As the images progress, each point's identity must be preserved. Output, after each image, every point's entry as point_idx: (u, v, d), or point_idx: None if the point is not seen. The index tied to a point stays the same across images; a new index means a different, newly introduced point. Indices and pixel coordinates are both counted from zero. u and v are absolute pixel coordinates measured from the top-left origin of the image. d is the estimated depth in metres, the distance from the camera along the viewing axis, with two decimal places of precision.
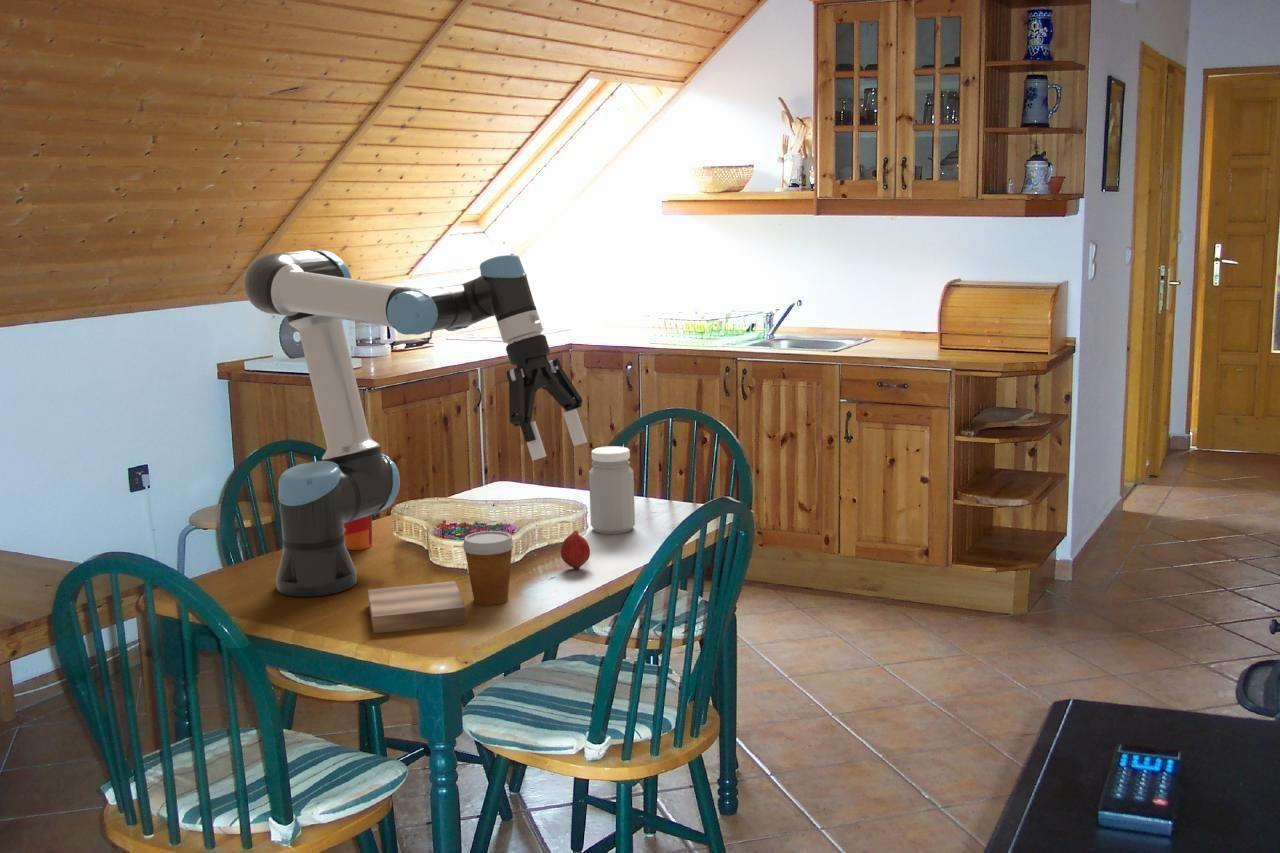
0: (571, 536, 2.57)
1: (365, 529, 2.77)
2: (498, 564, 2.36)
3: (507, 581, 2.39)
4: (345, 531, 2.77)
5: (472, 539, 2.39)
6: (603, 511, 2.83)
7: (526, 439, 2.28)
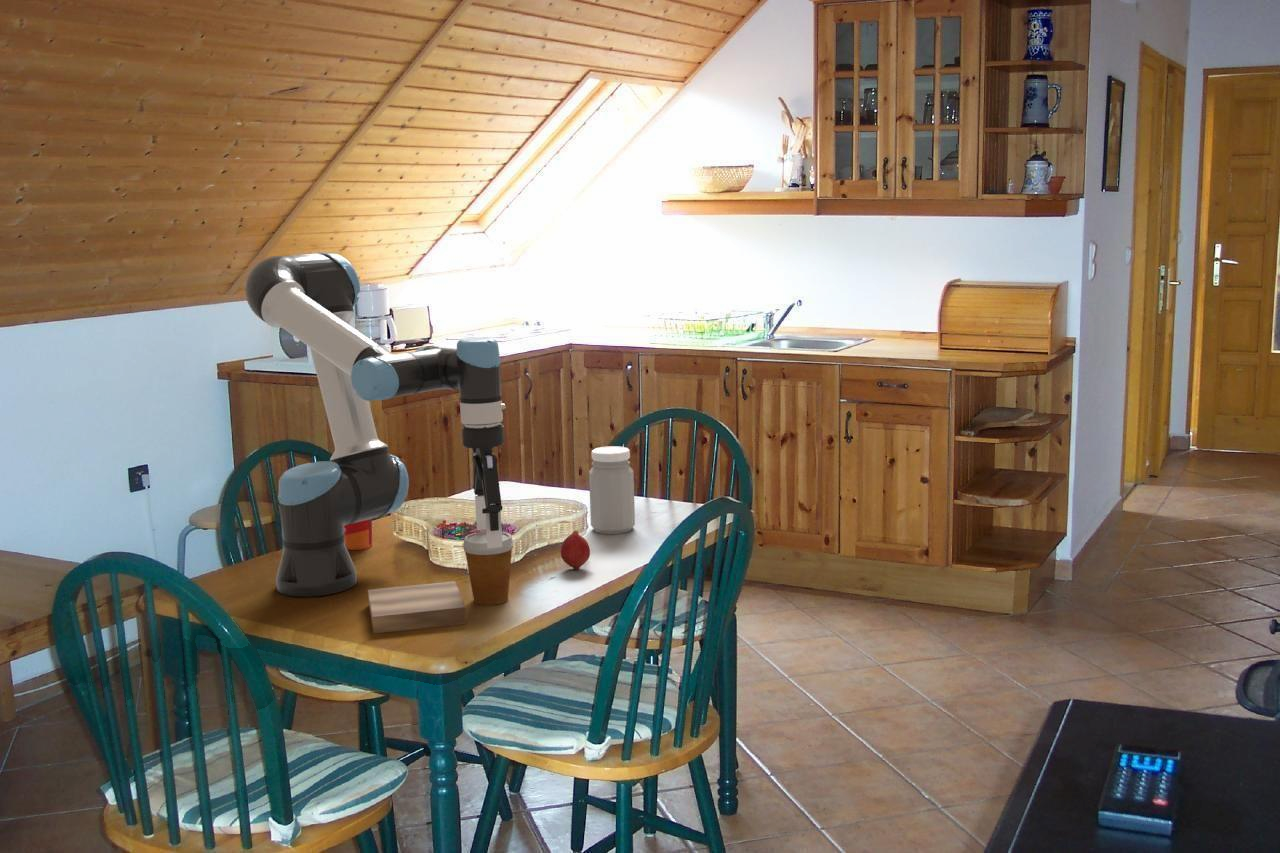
0: (571, 536, 2.57)
1: (365, 529, 2.77)
2: (498, 564, 2.36)
3: (507, 581, 2.39)
4: (345, 531, 2.77)
5: (472, 539, 2.39)
6: (603, 511, 2.83)
7: (492, 528, 2.30)
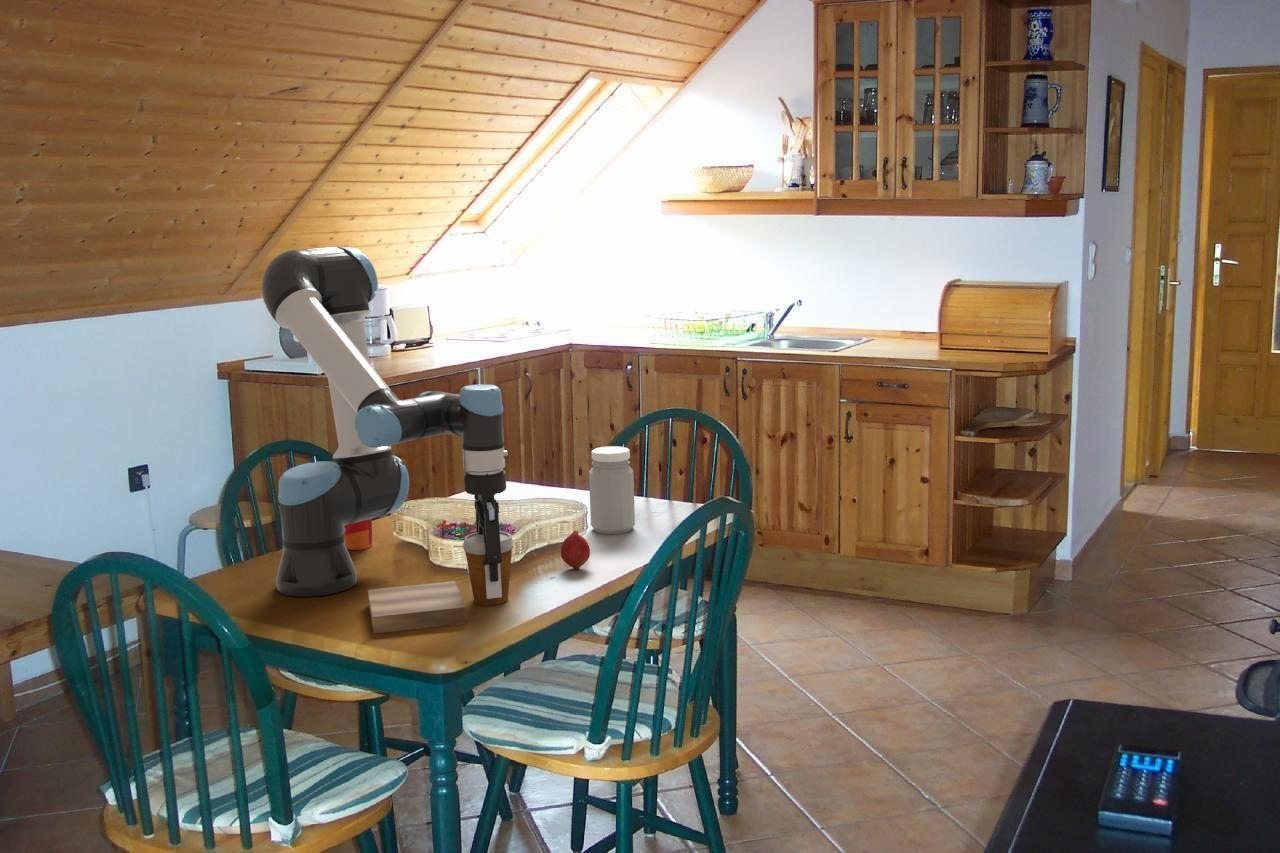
0: (571, 536, 2.57)
1: (365, 529, 2.77)
2: None
3: (507, 581, 2.39)
4: (345, 531, 2.77)
5: (472, 539, 2.39)
6: (603, 511, 2.83)
7: (492, 579, 2.34)
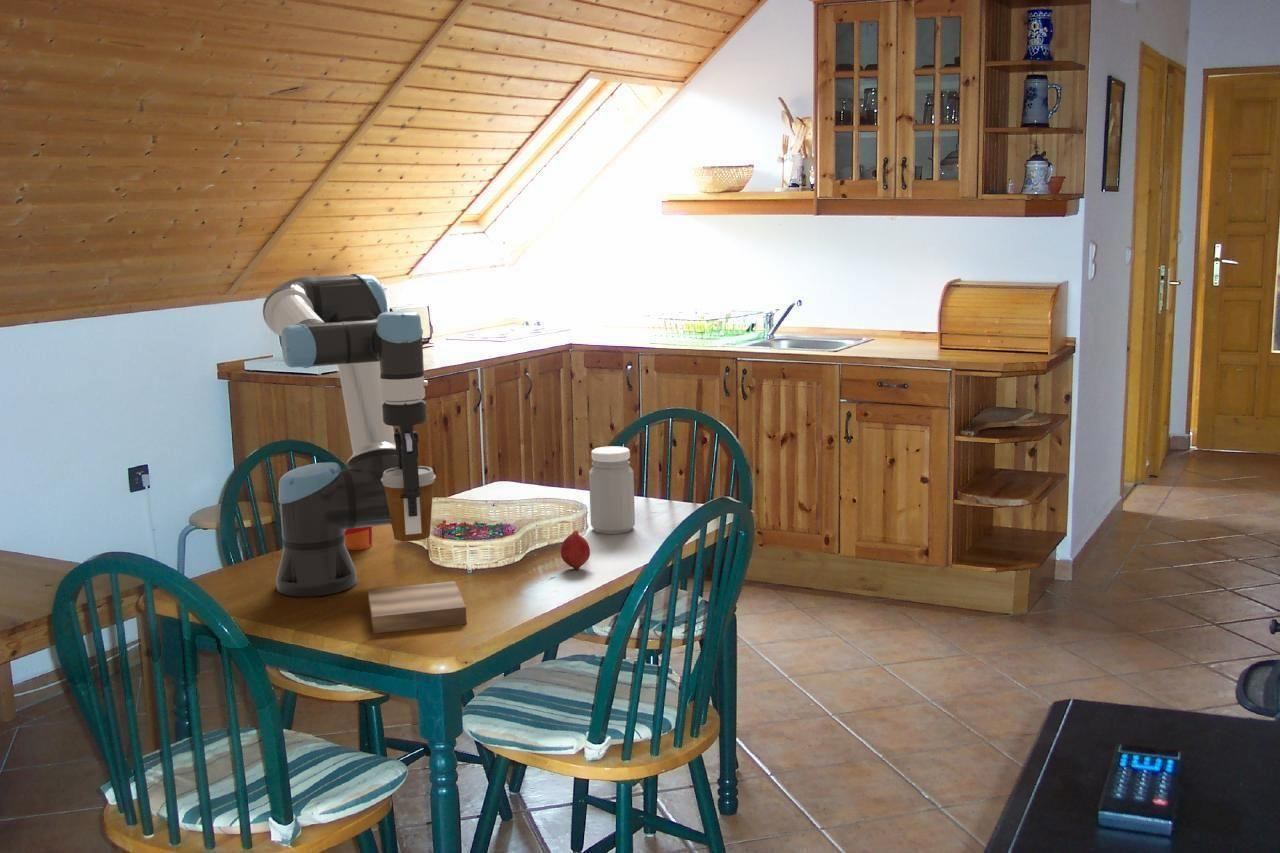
0: (571, 536, 2.57)
1: (365, 529, 2.77)
2: None
3: (428, 517, 2.29)
4: (345, 531, 2.77)
5: (392, 473, 2.29)
6: (603, 511, 2.83)
7: (411, 513, 2.24)
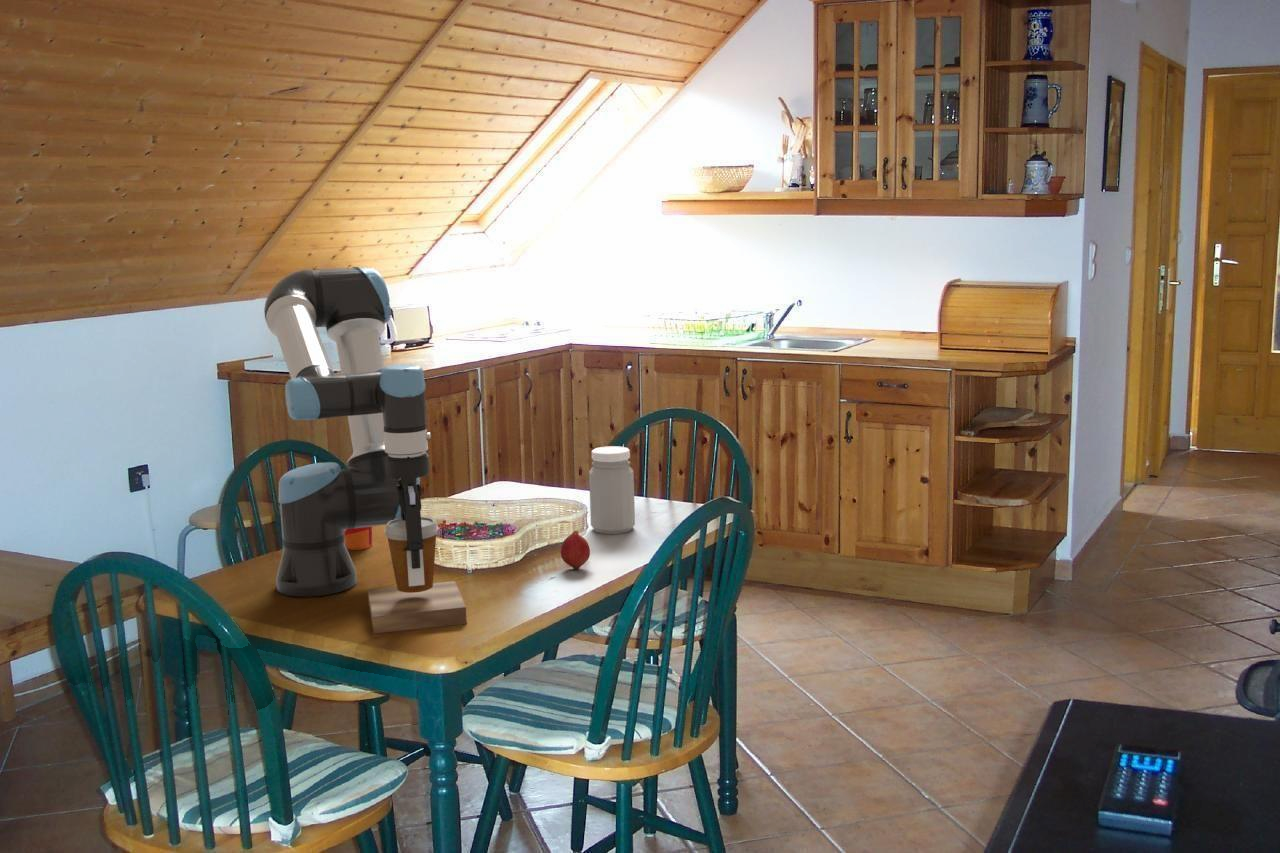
0: (571, 536, 2.57)
1: (365, 529, 2.77)
2: None
3: (431, 568, 2.31)
4: (345, 531, 2.77)
5: (395, 524, 2.31)
6: (603, 511, 2.83)
7: (414, 566, 2.26)
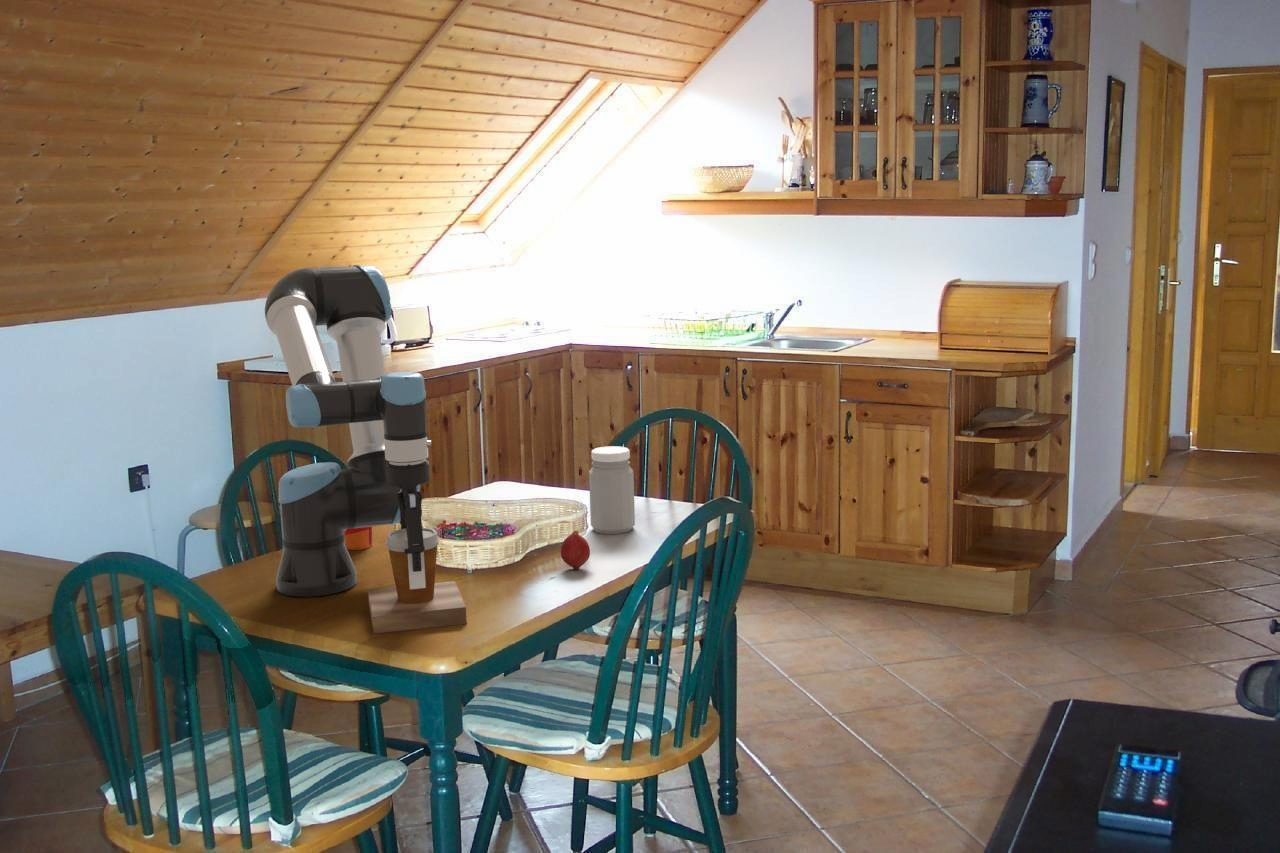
0: (571, 536, 2.57)
1: (365, 529, 2.77)
2: None
3: (432, 579, 2.31)
4: (345, 531, 2.77)
5: (396, 535, 2.31)
6: (603, 511, 2.83)
7: (415, 569, 2.24)
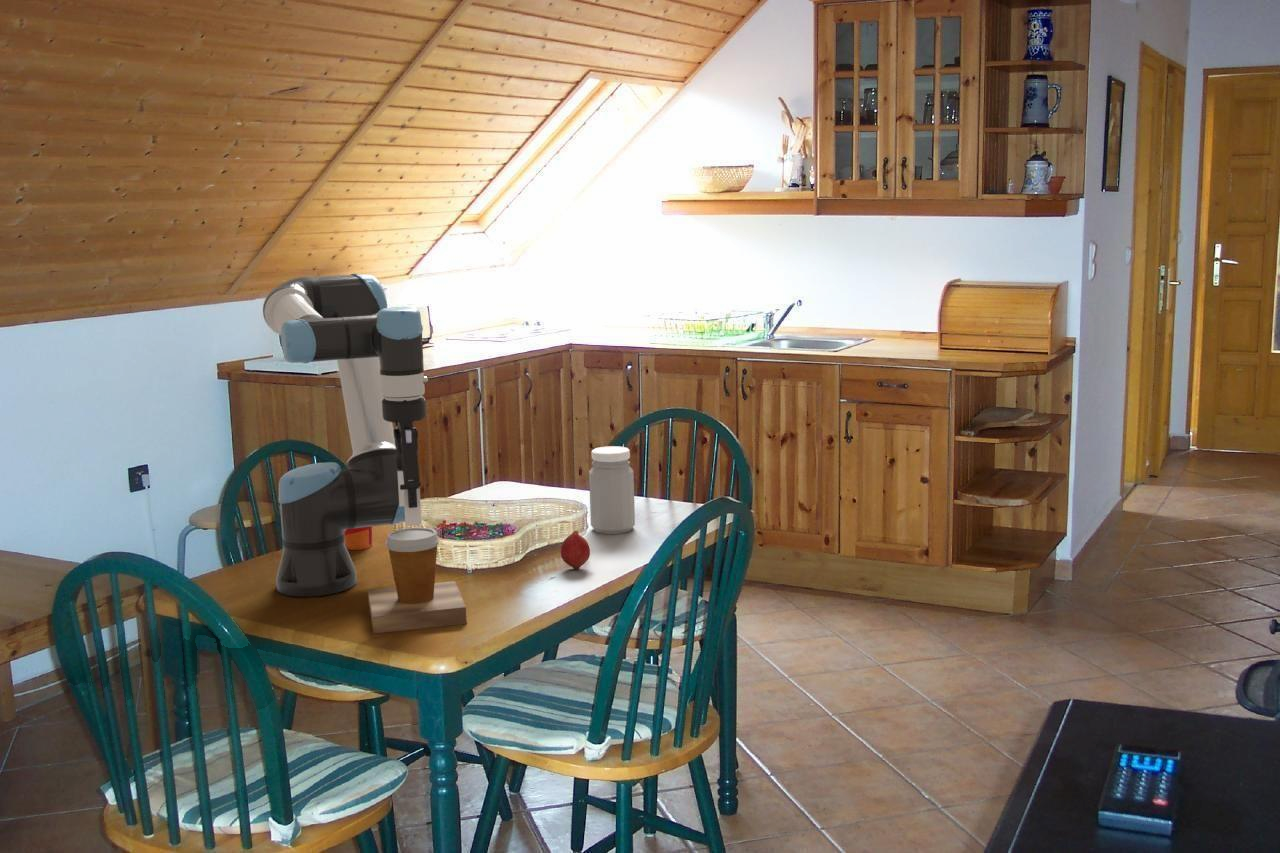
0: (571, 536, 2.57)
1: (365, 529, 2.77)
2: (422, 562, 2.28)
3: (432, 579, 2.31)
4: (345, 531, 2.77)
5: (396, 535, 2.31)
6: (603, 511, 2.83)
7: (411, 505, 2.22)
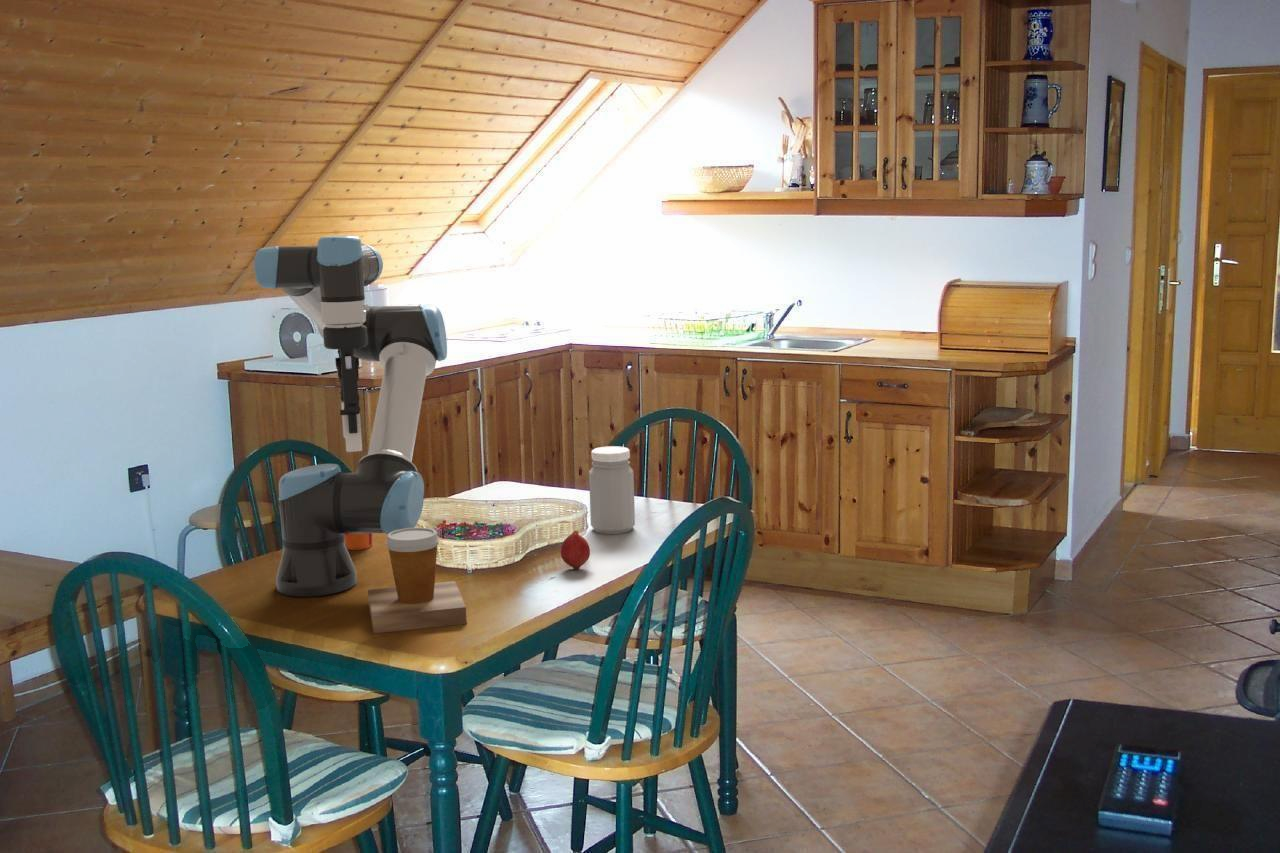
0: (571, 536, 2.57)
1: None
2: (422, 562, 2.28)
3: (432, 579, 2.31)
4: None
5: (396, 535, 2.31)
6: (603, 511, 2.83)
7: (351, 430, 2.23)
